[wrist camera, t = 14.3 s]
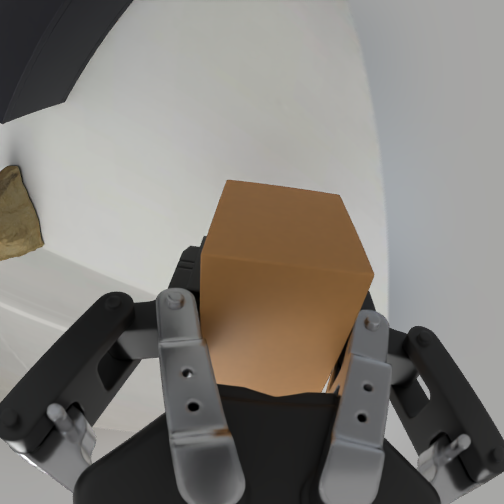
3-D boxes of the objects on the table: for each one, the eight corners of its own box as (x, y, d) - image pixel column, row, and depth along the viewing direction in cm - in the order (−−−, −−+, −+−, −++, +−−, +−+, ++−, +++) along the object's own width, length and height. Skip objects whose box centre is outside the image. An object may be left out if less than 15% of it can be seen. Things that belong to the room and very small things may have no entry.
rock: (-17, 154, 26) (-27, 224, 30) (-29, 189, 21) (-35, 267, 25) (58, 170, 34) (41, 233, 38) (63, 205, 29) (45, 275, 33)
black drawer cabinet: (70, -59, 15) (14, -79, 7) (149, -19, 19) (99, -46, 11) (1, 51, 21) (-60, 63, 13) (64, 102, 25) (1, 124, 17)
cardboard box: (226, 178, 13) (200, 253, 8) (340, 194, 13) (375, 275, 8) (218, 302, 16) (200, 392, 12) (307, 311, 16) (316, 402, 12)
